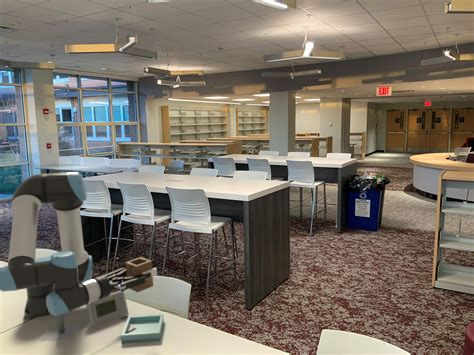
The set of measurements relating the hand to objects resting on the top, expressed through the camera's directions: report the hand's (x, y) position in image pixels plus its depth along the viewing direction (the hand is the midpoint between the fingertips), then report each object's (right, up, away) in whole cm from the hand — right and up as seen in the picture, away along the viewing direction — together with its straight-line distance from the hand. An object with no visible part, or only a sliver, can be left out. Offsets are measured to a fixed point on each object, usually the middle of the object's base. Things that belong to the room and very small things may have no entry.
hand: (150, 268), depth 147 cm
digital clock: (-19, -24, +9) cm, 32 cm away
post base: (-33, -25, -2) cm, 42 cm away
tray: (-2, -24, 0) cm, 24 cm away
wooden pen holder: (-3, -6, -3) cm, 7 cm away
